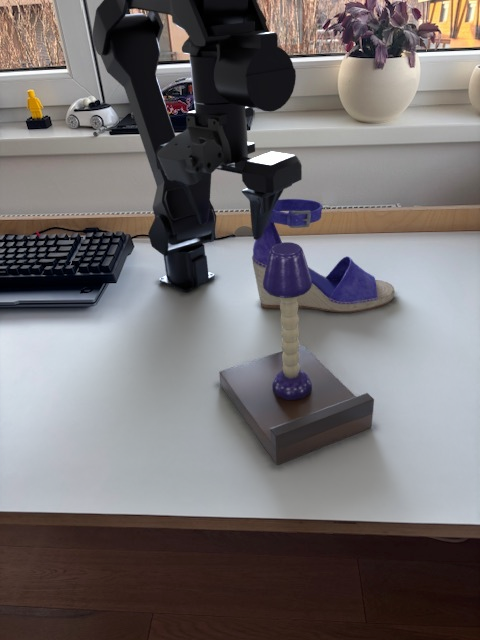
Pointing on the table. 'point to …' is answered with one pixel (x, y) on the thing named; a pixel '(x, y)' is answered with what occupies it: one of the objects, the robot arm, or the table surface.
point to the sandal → (326, 292)
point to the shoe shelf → (295, 406)
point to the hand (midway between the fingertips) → (229, 230)
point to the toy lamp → (289, 314)
